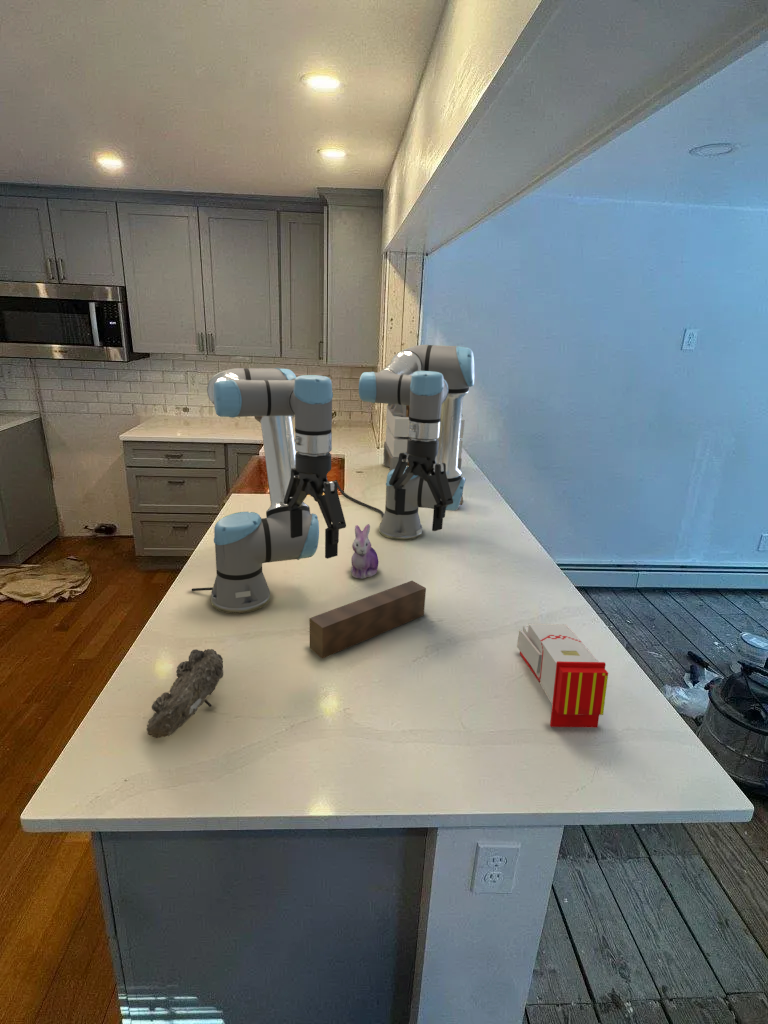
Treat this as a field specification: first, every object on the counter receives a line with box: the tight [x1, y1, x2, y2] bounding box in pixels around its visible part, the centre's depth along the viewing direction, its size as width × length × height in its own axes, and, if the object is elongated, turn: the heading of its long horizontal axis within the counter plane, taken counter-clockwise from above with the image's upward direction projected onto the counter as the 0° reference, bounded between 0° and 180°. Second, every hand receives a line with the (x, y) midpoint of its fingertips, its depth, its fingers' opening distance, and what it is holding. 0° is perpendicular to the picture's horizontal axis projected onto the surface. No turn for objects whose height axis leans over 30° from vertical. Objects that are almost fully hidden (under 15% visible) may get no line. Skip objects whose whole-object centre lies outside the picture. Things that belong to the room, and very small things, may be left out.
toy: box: [516, 623, 609, 728], centre depth 121 cm, size 12×13×30 cm
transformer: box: [383, 404, 465, 472], centre depth 268 cm, size 34×33×41 cm
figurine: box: [350, 523, 380, 580], centre depth 167 cm, size 9×10×15 cm
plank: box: [308, 580, 427, 659], centre depth 138 cm, size 32×5×8 cm, turn 131°
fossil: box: [146, 648, 224, 739], centre depth 109 cm, size 22×10×15 cm
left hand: (313, 546), depth 125 cm, fingers open, 13 cm apart
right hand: (417, 521), depth 142 cm, fingers open, 13 cm apart
